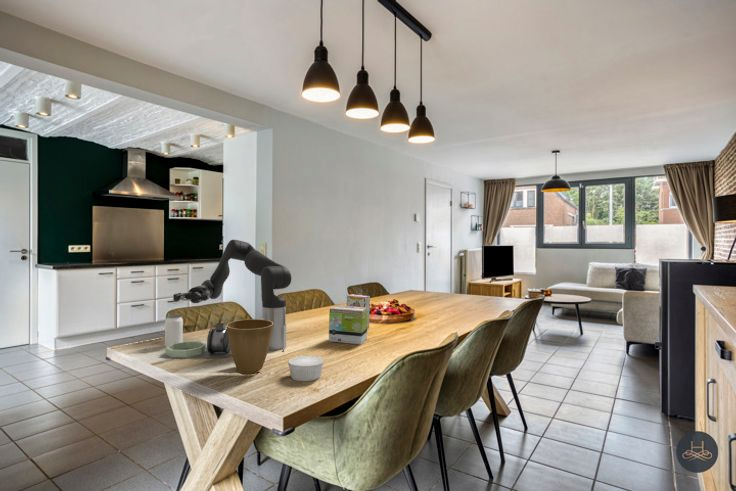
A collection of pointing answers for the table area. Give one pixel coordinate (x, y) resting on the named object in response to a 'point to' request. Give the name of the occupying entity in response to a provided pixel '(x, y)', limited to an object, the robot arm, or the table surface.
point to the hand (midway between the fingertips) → (185, 299)
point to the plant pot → (249, 343)
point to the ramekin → (305, 368)
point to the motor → (218, 339)
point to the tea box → (348, 324)
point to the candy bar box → (359, 303)
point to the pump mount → (191, 351)
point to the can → (173, 330)
